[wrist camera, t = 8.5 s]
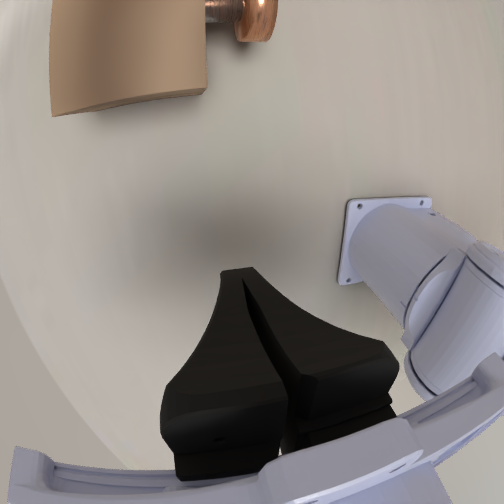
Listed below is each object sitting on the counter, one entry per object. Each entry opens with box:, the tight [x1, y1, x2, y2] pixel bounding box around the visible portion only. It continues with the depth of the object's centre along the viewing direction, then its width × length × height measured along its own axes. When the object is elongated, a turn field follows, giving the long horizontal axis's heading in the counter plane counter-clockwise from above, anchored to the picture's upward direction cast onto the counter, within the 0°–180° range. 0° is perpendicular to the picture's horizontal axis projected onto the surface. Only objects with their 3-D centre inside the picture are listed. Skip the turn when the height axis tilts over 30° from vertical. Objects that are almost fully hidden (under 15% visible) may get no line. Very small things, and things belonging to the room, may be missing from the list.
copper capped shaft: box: [205, 0, 278, 42], centre depth 10 cm, size 11×4×4 cm, turn 92°
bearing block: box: [49, 0, 207, 117], centre depth 10 cm, size 7×10×7 cm
